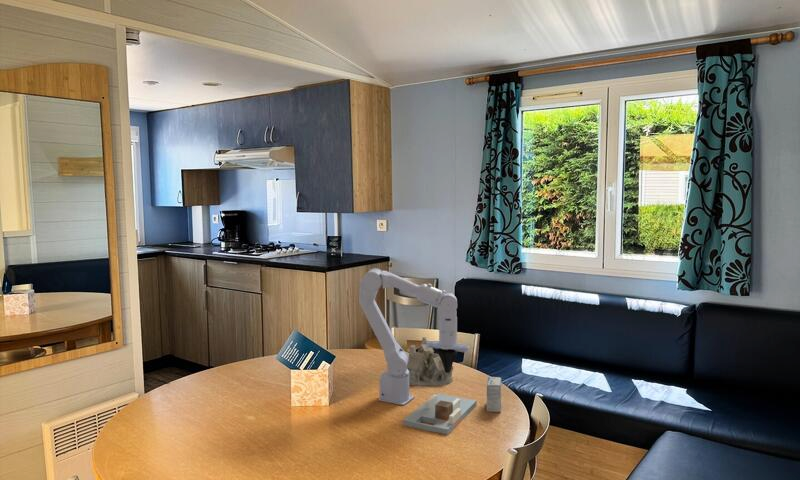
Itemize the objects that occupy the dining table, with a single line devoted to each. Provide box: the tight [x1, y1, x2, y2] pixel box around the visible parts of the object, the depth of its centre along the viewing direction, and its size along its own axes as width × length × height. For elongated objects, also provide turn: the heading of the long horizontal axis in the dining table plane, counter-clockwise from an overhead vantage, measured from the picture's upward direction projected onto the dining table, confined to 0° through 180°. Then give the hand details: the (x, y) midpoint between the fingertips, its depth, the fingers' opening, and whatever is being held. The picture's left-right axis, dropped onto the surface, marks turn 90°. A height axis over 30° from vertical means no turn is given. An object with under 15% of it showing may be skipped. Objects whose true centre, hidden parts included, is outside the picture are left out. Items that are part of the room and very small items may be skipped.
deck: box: [403, 392, 478, 436], centre depth 171 cm, size 14×24×4 cm, turn 153°
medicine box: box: [486, 376, 503, 413], centre depth 176 cm, size 8×4×9 cm, turn 169°
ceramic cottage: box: [407, 336, 454, 386], centre depth 201 cm, size 16×16×15 cm
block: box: [435, 400, 453, 421], centre depth 165 cm, size 4×4×4 cm
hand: (447, 371), depth 181 cm, fingers closed
